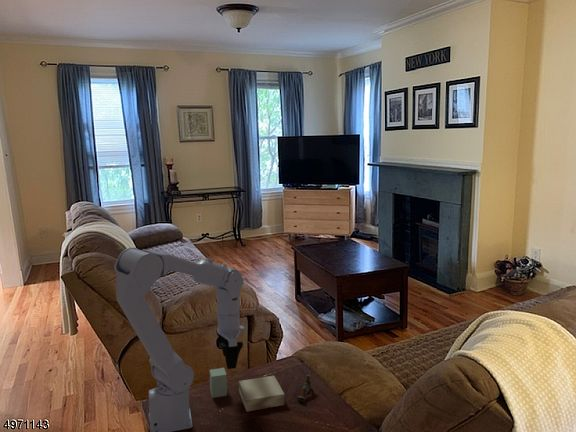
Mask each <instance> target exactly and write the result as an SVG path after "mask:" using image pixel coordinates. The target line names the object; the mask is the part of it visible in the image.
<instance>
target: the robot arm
mask: <svg viewBox="0 0 576 432" xmlns="http://www.w3.org/2000/svg"><path fill="white" fill-rule="evenodd" d="M113 269H114V272H115V275H116V276H115V278H116V279H115V280H116V283H115V299H116V301H117V303H118V305H119V306H120V308H121V310H122V311H123V314H124V315H125V317H126V319H127V321H128V322H129V324H130V325H131V327H132V330H134V333H135V334H136V335H137V338H138V339H139V341H140V342H141V344H142V346H143V347H144V349H145V351H146V353H147V354H148V356H149V360H148V362H149V364H150V367H151V370H150V371H151V375H152V377H153V378H154V380H156V385H157V386H156V387H155V388H152V389H149V390H148V409H149V410H148V412H149V413H148V422H149V430H150V431H149V432H176V431H182V430H188V429H192V428H193V421H192V420H193V419H192V413H191V408H190V392H189V390H190V387H191V386H192V384H193V382H194V379H195V372H194V370H193V368H192V367H191V366H189V365H187V364H185V362H184V360H183V359H182V358H181V357H180V356H179V355H178V353H177V352H176V351H175V350H174V349H173V347H172V345H171V343H170V341H169V340H168V338H167V336H166V334H165V333H164V330H163V329H162V327H161V325H160V323H159V322H158V320H157V317H156V316H155V314H154V313H153V311H152V308H151V307H150V306H149V303H148V301H147V300H146V296H147V294H148V293H149V291H150V290H151V288H152V287H153V286H154V284H155V283H156V281H158V279H159V278H160V276H161V275H162V276H165V275H166V274H167V273H168V272H169V271H172V272H176V273H181V274H185V275H189V276H191V277H192V280H193V281H194V282H195V283H198V284H201V285H207V286H210V287H214V288H216V296H217V299H216V301H217V304H216V306H217V307H216V308H217V328H216V331H215V332H216V334H217V336H218V338H219V341H220V342H219V344H220V348H221V351H222V352H221V353H222V355H223V357H224V358H225V363H226V368H227V370H231V369H236V368H237V365H238V360H239V355H240V353H241V350H242V349H243V346H244V343H243V341H238V337H239V335H240V333H241V332H244V331H245V327H244V325H241V323H240V320H241V319H240V318H241V316H240V295H241V290H242V287H243V286H244V283H245V279H244V278H243V274H242V273H241V272H240V270H238V269H236V268H231V267H229V266H228V265H227V264H224V263H221V264H219V263H216V262H214V260H213V259H210V258H205V259H200V260H198V261H196V262H194V261H191V260H188V259H185V258H181V257H179V256H176V255H173V254H169V253H166V252H163V251H156V250H152V249H142V250H141V249H139V248H137V247H127V248H125V249H124V250H122V251H121V252H120V253H119V255H118V257H117V259H116V262H115V263H114V266H113Z"/></svg>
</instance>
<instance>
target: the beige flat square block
mask: <svg viewBox="0 0 576 432" xmlns="http://www.w3.org/2000/svg"><path fill="white" fill-rule="evenodd" d="M238 392H239V396H240V397H241V401H242V403H243V406H244V408H245V411H246V412H252V411H256V410H264V409H268V408H269V407H270V408H274V407H279V406H285V404H286V403H285V401H286V399H285V392H284V391H283V388H282V387H281V385H280V383H279V382H278V380H277V378H276V376H275V375H269V376H263V377H256V378H250V379H243V380H239V381H238ZM270 408H269V409H270Z"/></svg>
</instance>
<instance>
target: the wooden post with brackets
mask: <svg viewBox="0 0 576 432" xmlns="http://www.w3.org/2000/svg"><path fill="white" fill-rule="evenodd" d="M311 383H312V382H311V374H310V373H308V374H306V378H305V381H304V383H303V385H302V389H301V393H300V395H298V396H297V401H298V402H304V403H305V402H306V400H305V399H306V398H305V396H306V395H307V394H309V393H310V392H309V391H310V388H311V387H312V384H311Z"/></svg>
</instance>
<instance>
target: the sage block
mask: <svg viewBox="0 0 576 432" xmlns="http://www.w3.org/2000/svg"><path fill="white" fill-rule="evenodd" d="M227 379H228V378H227V372H226V369H225V367H220V368H213V369H212V368H211V369H209V391H210V394H211V399H213V398H214V399H215V398H220V397H226V396H228V384H227Z"/></svg>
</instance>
